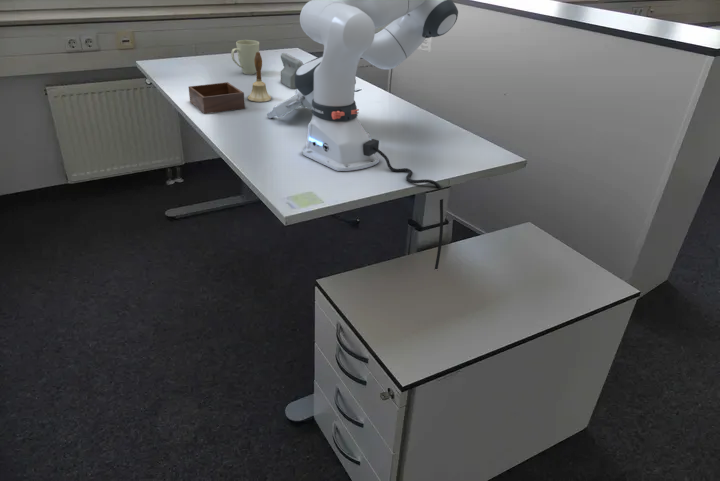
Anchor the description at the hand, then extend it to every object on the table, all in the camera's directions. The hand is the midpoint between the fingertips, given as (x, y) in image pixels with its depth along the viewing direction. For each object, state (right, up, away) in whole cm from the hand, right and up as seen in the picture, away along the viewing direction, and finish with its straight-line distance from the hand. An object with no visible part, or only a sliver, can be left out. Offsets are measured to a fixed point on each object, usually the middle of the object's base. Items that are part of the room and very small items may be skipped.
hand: (274, 112), depth 184 cm
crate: (-20, +3, +4) cm, 21 cm away
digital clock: (+3, +18, +31) cm, 36 cm away
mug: (-17, +25, +41) cm, 51 cm away
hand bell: (-7, +8, +13) cm, 17 cm away
